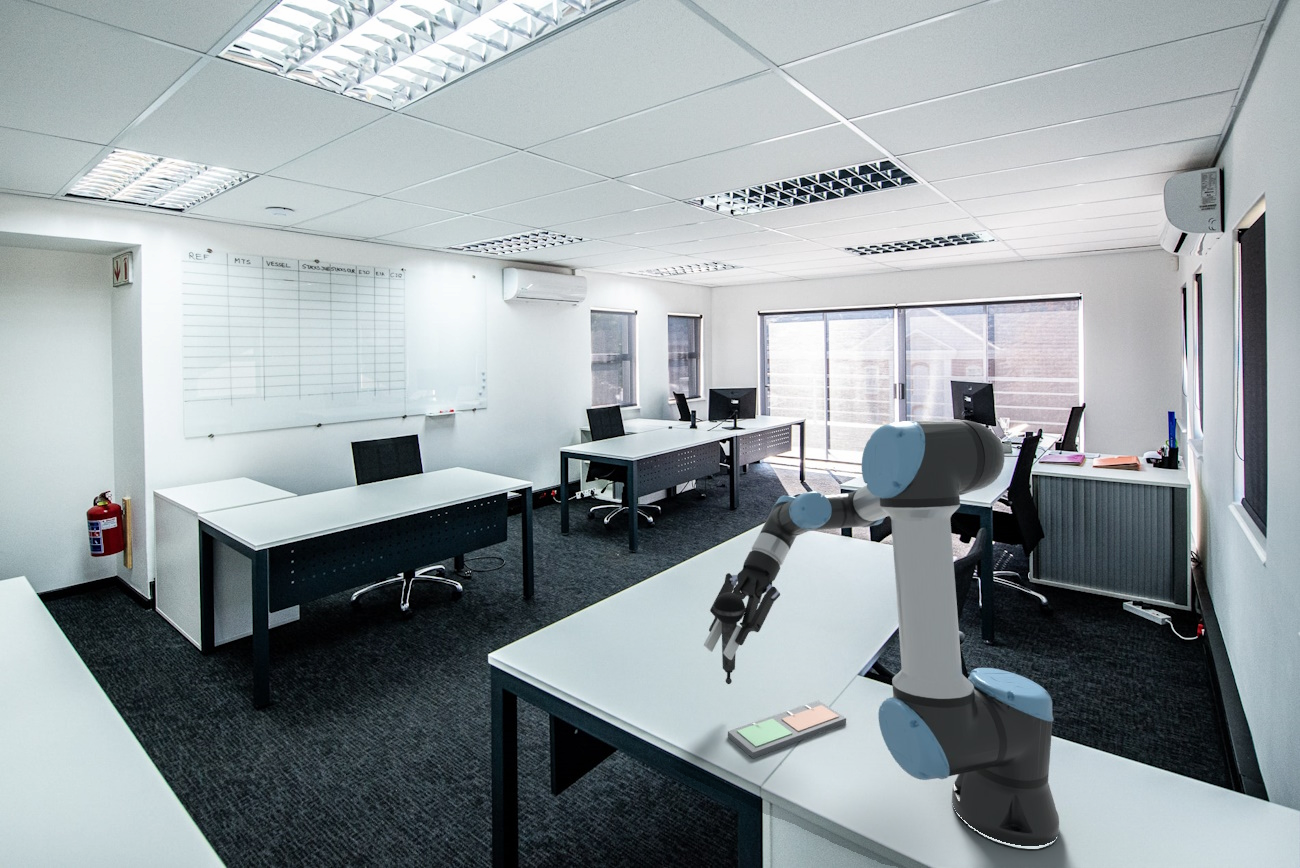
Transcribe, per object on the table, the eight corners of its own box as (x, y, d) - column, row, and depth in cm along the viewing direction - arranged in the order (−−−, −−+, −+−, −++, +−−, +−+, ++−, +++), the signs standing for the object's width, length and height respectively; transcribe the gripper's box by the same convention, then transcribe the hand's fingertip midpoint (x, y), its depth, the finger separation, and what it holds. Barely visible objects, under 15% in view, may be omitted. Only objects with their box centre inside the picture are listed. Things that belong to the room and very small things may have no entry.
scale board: (846, 723, 129) (846, 717, 129) (752, 758, 118) (753, 751, 118) (818, 705, 136) (818, 699, 136) (727, 736, 125) (727, 730, 125)
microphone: (744, 676, 137) (745, 587, 135) (745, 692, 131) (746, 599, 128) (712, 675, 138) (713, 586, 136) (712, 691, 131) (713, 598, 129)
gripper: (806, 576, 136) (759, 675, 127) (741, 559, 149) (694, 647, 139) (793, 557, 132) (743, 658, 122) (727, 541, 145) (677, 631, 135)
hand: (717, 652), depth 131 cm, fingers closed on microphone, 5 cm apart
